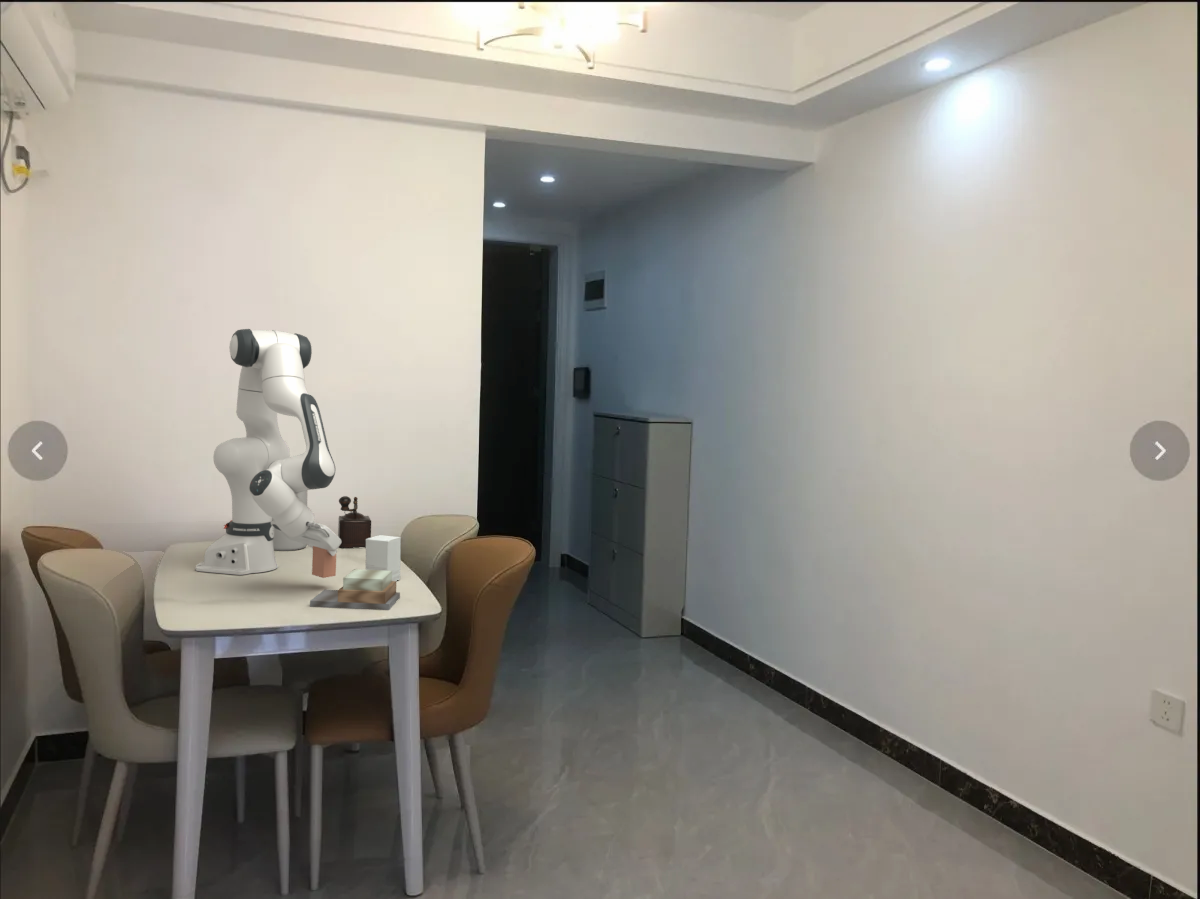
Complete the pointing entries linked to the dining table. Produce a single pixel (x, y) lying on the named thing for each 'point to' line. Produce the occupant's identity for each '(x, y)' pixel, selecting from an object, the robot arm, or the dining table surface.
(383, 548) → the supplement box
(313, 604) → the build plinth
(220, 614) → the dining table surface
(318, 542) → the robot arm
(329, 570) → the block
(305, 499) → the cylinder vase
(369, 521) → the manual coffee grinder
